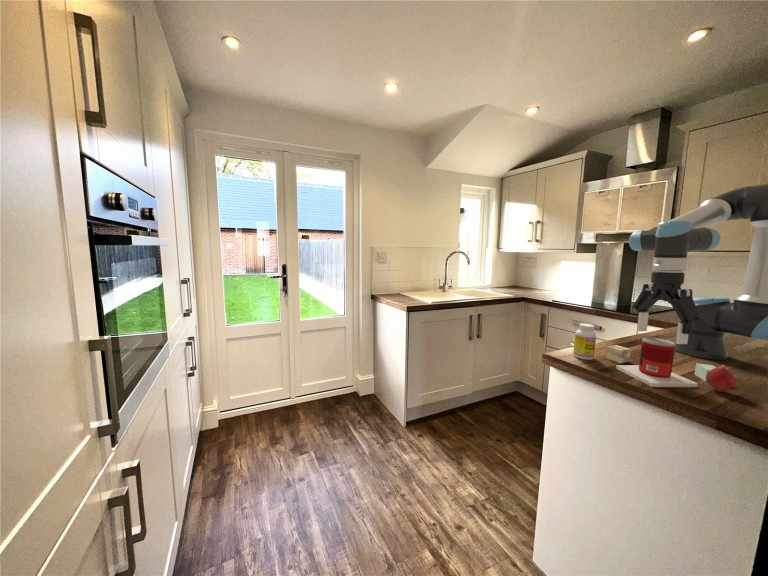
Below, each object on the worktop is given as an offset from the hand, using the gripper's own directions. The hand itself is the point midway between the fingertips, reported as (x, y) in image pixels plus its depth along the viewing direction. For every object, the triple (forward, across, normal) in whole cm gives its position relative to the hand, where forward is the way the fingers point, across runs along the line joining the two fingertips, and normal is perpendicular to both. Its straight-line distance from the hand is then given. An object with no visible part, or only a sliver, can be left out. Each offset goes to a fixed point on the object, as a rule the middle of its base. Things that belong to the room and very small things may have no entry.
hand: (660, 336), depth 96 cm
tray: (+14, 0, -1) cm, 14 cm away
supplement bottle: (+14, -18, -12) cm, 25 cm away
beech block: (+14, -15, -1) cm, 20 cm away
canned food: (+12, 0, -1) cm, 12 cm away
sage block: (+14, +1, +16) cm, 22 cm away
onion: (+14, +10, +10) cm, 20 cm away
